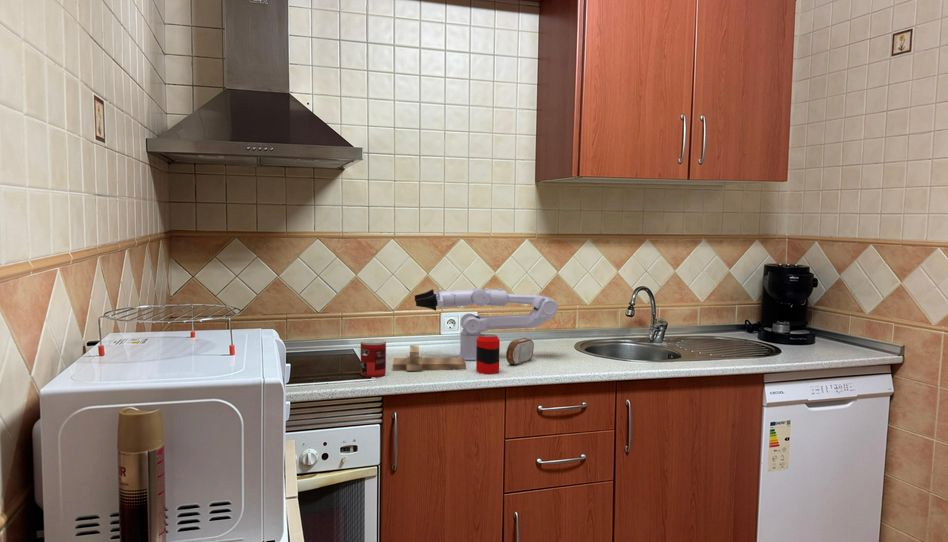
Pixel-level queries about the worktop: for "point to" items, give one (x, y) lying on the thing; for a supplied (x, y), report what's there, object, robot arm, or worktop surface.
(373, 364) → the canned food
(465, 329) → the robot arm
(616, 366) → the worktop surface
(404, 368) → the board
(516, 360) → the tin
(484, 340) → the soda can
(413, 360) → the wooden block
